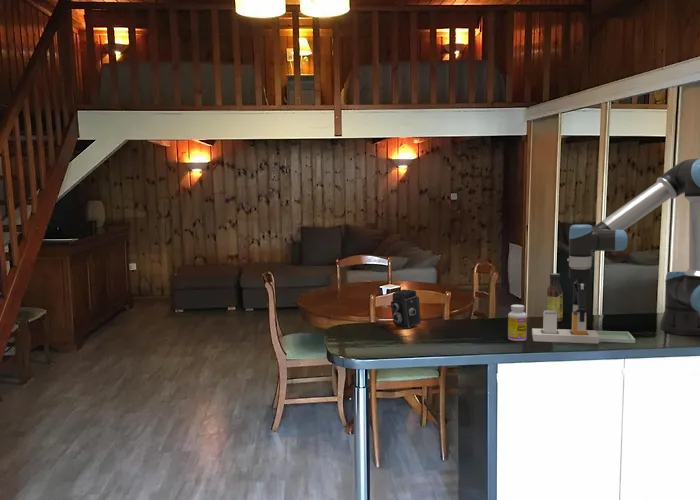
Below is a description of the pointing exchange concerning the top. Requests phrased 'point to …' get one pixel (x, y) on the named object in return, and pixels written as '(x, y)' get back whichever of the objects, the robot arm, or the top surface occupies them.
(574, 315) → the plug
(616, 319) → the top surface
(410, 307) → the camera
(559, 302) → the sauce bottle
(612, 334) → the tray
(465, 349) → the top surface
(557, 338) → the pdu strip
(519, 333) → the supplement bottle
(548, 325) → the twin plug
